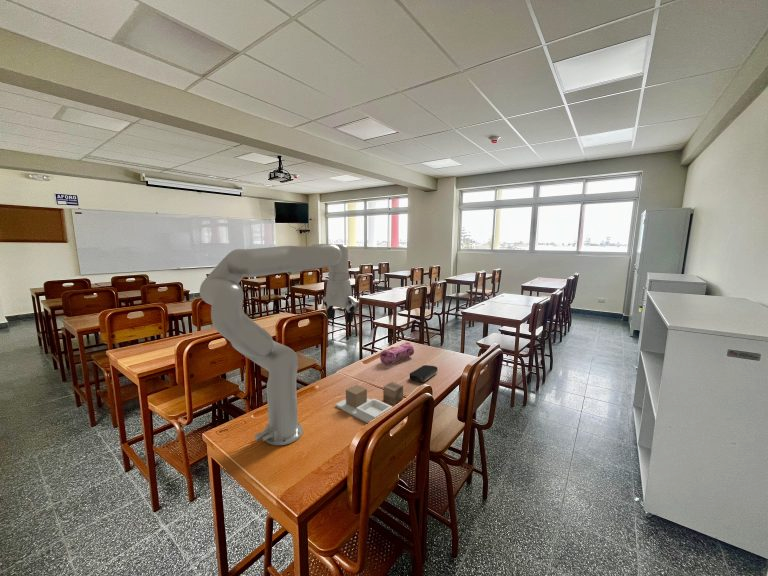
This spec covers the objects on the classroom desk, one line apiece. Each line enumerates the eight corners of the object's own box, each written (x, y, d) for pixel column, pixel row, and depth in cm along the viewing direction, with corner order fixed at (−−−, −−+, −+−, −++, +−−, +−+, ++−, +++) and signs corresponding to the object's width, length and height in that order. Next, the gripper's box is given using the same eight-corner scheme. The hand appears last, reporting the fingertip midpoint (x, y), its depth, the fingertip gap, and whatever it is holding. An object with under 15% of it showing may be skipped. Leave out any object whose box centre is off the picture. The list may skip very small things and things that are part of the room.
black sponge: (422, 384, 145) (423, 377, 144) (407, 380, 150) (407, 373, 150) (438, 373, 158) (439, 366, 157) (424, 369, 163) (424, 363, 162)
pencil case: (391, 368, 164) (391, 352, 163) (378, 364, 170) (378, 348, 169) (415, 357, 179) (415, 343, 178) (403, 354, 186) (403, 339, 184)
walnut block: (394, 404, 127) (394, 390, 126) (383, 399, 131) (383, 386, 130) (403, 399, 131) (403, 385, 130) (392, 394, 135) (392, 381, 134)
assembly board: (375, 427, 111) (375, 409, 110) (335, 406, 125) (335, 390, 124) (396, 413, 120) (396, 396, 119) (356, 395, 134) (356, 380, 133)
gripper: (315, 276, 119) (317, 319, 122) (349, 279, 109) (350, 325, 112) (329, 274, 125) (330, 315, 128) (362, 277, 116) (363, 321, 118)
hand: (340, 320), depth 120 cm, fingers open, 9 cm apart
